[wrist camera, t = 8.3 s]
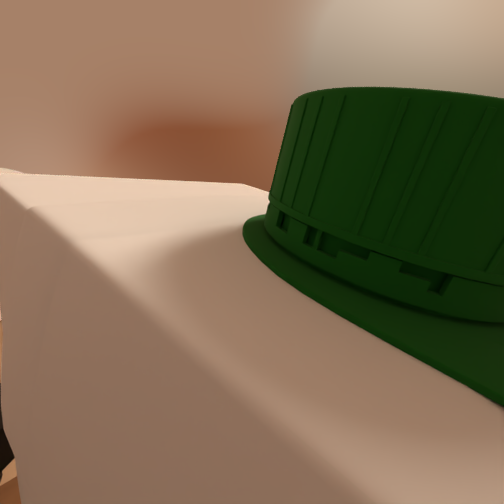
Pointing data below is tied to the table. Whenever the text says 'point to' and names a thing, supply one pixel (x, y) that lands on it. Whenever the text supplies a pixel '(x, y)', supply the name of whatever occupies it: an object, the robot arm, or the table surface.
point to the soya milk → (268, 318)
